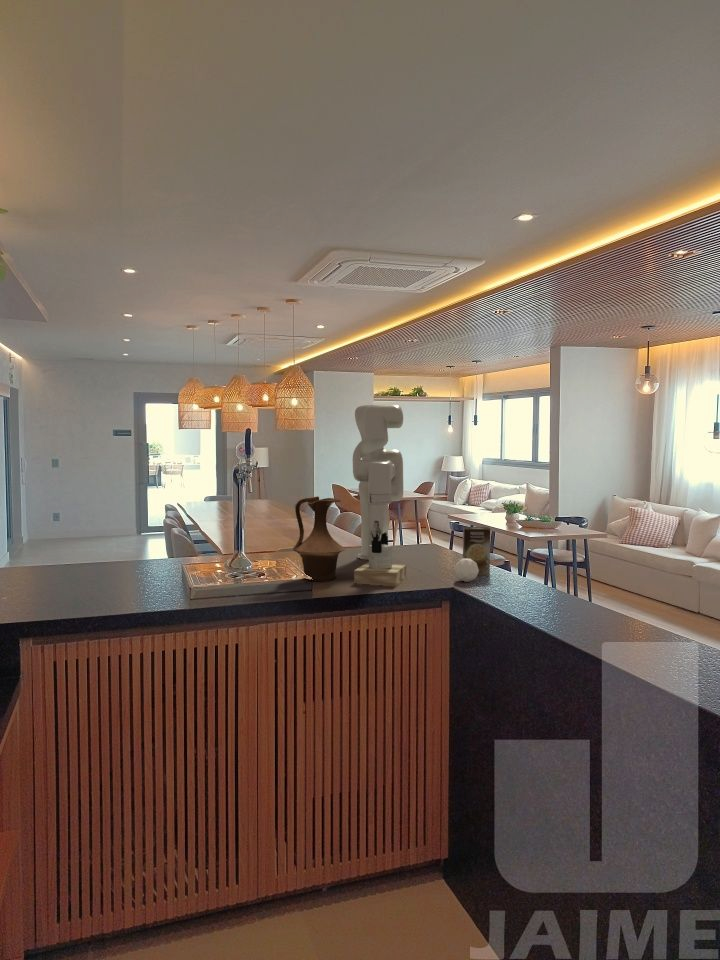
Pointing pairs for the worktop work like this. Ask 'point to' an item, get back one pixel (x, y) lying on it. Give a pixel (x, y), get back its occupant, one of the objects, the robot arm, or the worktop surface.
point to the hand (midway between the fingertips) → (380, 550)
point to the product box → (381, 558)
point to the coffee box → (477, 547)
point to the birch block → (380, 575)
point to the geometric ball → (466, 570)
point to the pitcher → (318, 542)
